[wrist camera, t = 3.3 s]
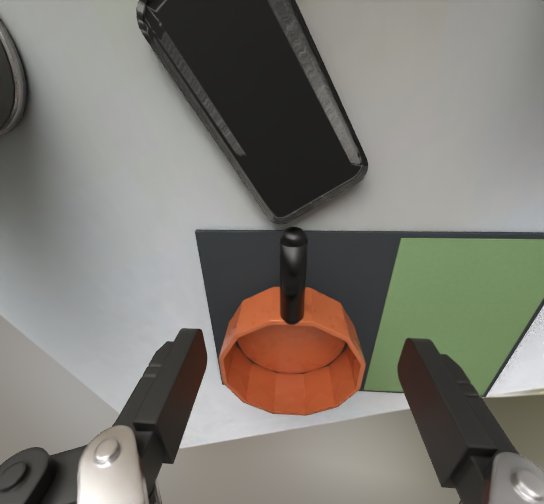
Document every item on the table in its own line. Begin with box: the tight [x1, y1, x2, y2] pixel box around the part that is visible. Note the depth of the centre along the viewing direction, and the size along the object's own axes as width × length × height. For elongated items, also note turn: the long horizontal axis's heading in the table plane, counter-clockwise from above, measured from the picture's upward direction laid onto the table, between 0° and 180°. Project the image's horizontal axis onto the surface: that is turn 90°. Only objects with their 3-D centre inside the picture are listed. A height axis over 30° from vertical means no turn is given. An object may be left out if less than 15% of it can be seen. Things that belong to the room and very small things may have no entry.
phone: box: [137, 0, 368, 224], centre depth 16 cm, size 8×1×15 cm
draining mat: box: [195, 230, 544, 397], centre depth 25 cm, size 30×20×1 cm, turn 91°
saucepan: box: [219, 227, 366, 415], centre depth 22 cm, size 12×19×4 cm, turn 1°
